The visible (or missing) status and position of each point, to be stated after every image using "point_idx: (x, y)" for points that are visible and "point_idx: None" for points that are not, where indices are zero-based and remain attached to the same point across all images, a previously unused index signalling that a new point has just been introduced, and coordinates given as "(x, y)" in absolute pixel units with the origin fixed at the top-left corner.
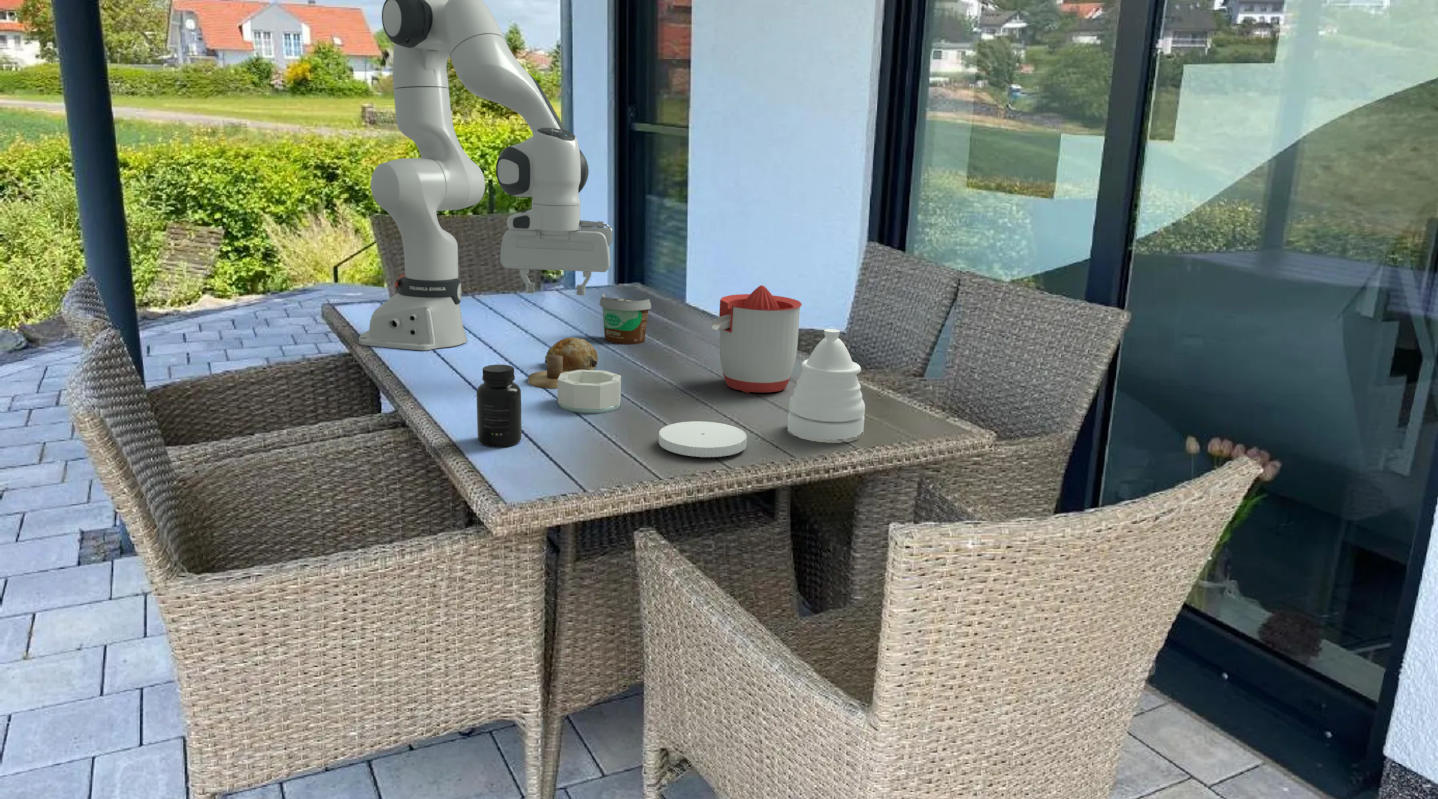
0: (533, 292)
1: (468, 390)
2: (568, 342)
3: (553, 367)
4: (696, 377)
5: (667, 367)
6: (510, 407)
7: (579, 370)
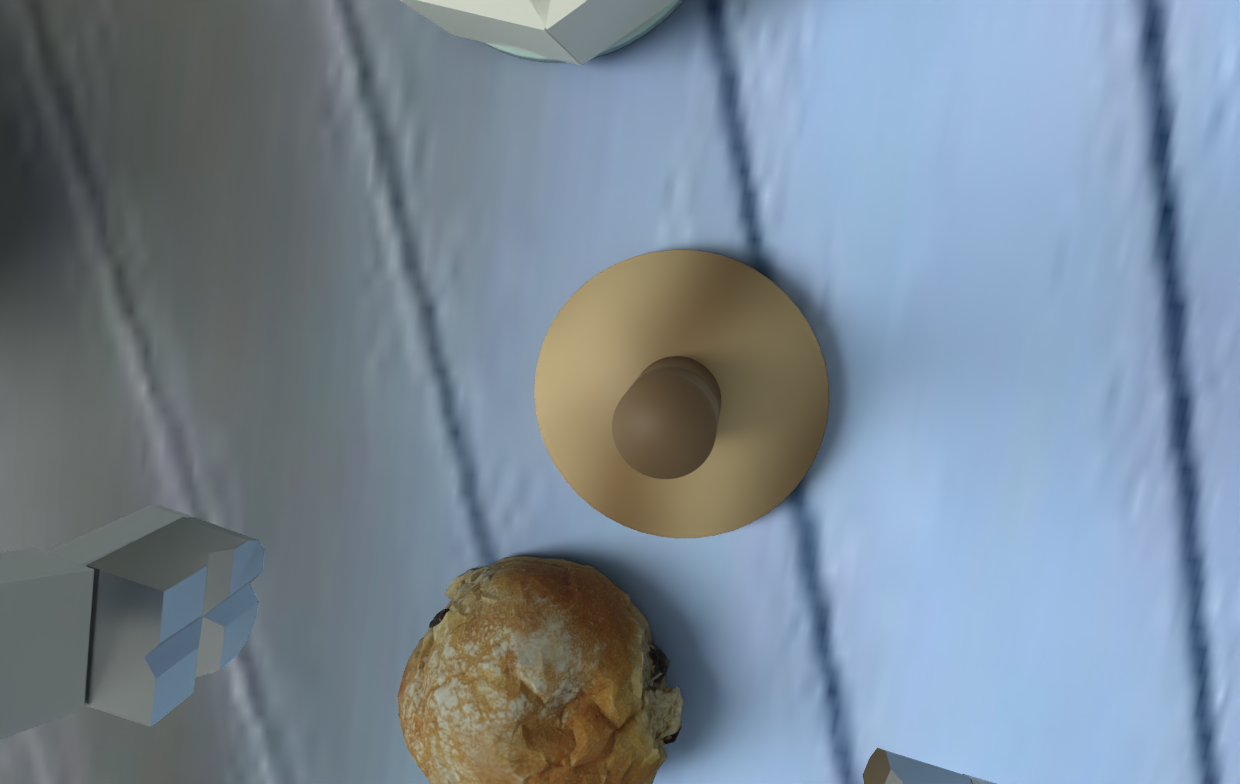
0: (882, 751)
1: (1227, 263)
2: (532, 733)
3: (684, 370)
4: (7, 387)
5: None
6: None
7: (553, 4)
